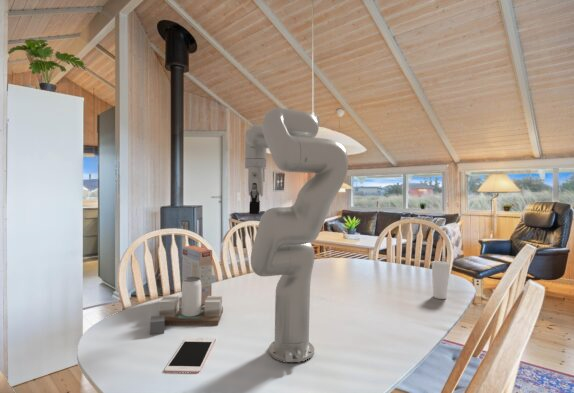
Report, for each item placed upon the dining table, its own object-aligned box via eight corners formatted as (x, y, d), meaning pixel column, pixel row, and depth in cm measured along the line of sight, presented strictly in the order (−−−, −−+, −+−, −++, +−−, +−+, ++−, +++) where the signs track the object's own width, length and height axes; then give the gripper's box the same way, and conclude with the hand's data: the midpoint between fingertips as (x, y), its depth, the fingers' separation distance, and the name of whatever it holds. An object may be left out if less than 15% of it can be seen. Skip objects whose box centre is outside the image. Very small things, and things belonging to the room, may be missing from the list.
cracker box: (212, 303, 131) (213, 249, 130) (198, 306, 127) (198, 251, 126) (194, 294, 141) (195, 244, 141) (181, 297, 137) (181, 246, 136)
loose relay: (164, 333, 104) (164, 320, 104) (150, 335, 103) (150, 322, 103) (164, 327, 109) (164, 314, 109) (151, 328, 108) (151, 316, 107)
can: (181, 318, 112) (181, 282, 111) (181, 311, 118) (181, 277, 118) (201, 316, 114) (202, 281, 113) (200, 309, 120) (201, 275, 120)
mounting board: (217, 325, 111) (218, 305, 111) (155, 325, 110) (155, 305, 109) (222, 311, 123) (223, 293, 123) (166, 311, 122) (167, 293, 121)
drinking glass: (430, 298, 142) (431, 263, 141) (431, 294, 148) (432, 260, 147) (448, 301, 139) (449, 265, 138) (448, 296, 145) (450, 261, 144)
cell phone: (215, 340, 101) (215, 337, 101) (199, 374, 83) (199, 371, 83) (186, 340, 101) (186, 337, 101) (163, 374, 83) (163, 370, 83)
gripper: (265, 163, 111) (265, 215, 112) (266, 166, 128) (265, 211, 129) (243, 162, 111) (242, 214, 111) (246, 165, 128) (245, 210, 129)
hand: (254, 212), depth 120 cm, fingers open, 9 cm apart
